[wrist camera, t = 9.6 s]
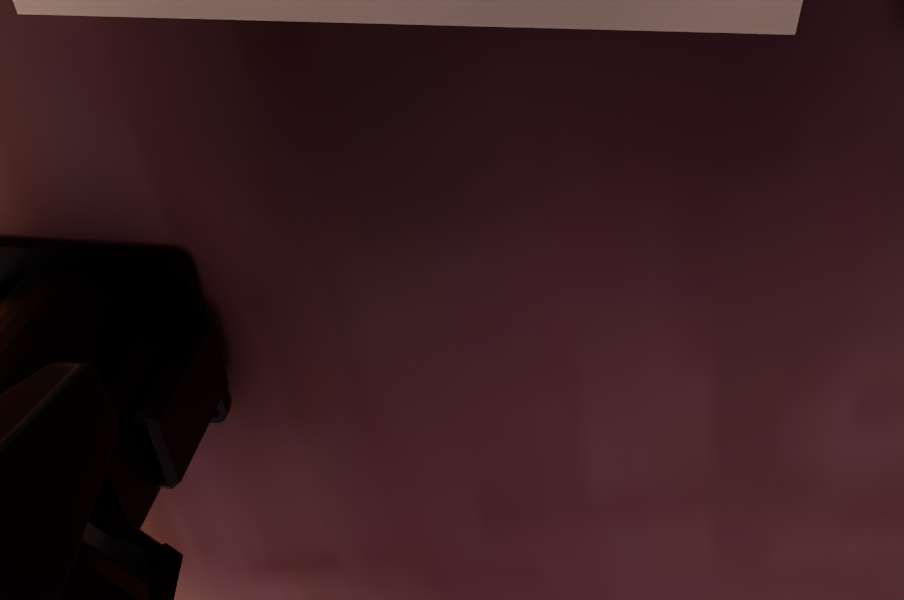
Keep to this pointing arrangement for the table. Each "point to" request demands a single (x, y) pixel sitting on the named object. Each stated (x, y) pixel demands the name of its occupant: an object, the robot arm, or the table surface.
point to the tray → (462, 12)
